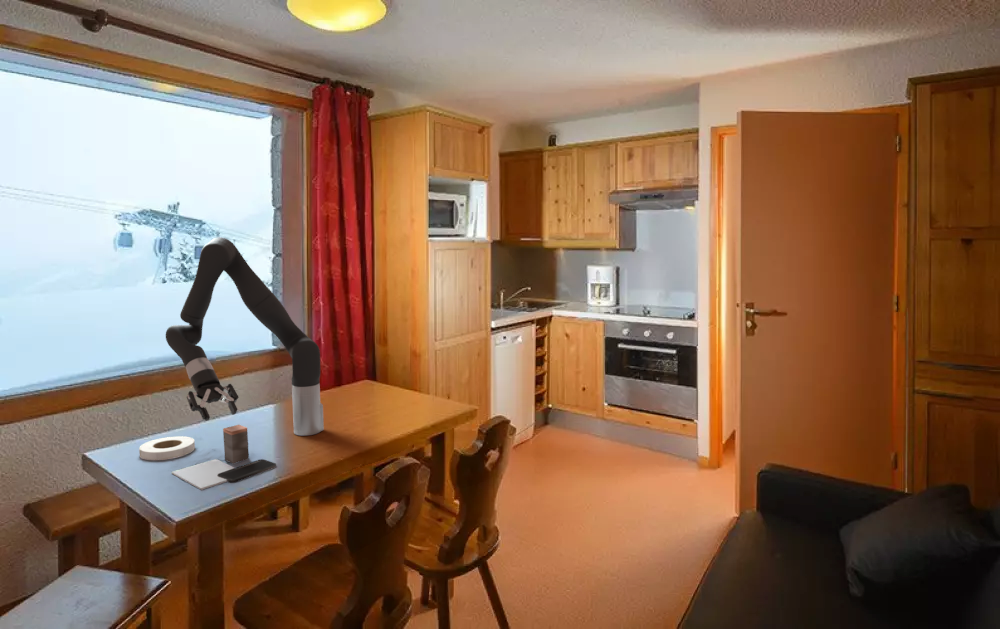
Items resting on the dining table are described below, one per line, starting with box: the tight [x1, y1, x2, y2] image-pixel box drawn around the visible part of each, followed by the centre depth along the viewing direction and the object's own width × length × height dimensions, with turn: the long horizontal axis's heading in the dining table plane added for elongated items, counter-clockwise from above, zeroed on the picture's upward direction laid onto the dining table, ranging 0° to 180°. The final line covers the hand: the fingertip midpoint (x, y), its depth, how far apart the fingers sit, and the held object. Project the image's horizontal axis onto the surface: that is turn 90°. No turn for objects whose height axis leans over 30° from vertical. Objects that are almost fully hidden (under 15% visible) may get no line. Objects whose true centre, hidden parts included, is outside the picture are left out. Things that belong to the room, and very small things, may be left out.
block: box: [222, 424, 250, 465], centre depth 185 cm, size 5×5×10 cm
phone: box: [217, 458, 277, 484], centre depth 176 cm, size 8×1×15 cm
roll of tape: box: [138, 435, 196, 461], centre depth 192 cm, size 16×15×3 cm
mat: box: [171, 458, 235, 491], centre depth 174 cm, size 13×18×1 cm
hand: (221, 416), depth 189 cm, fingers open, 8 cm apart
